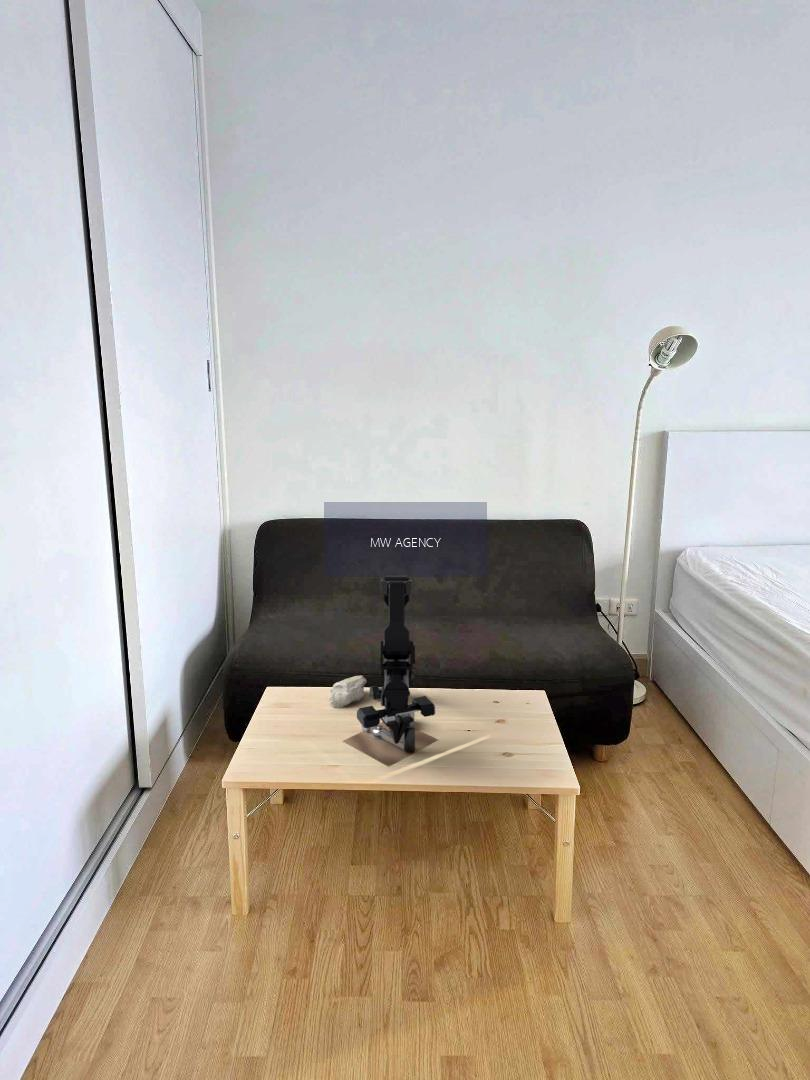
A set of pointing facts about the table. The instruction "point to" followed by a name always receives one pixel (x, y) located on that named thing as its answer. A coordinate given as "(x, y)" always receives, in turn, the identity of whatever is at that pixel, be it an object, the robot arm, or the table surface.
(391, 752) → the press bench
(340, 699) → the fossil replica
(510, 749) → the table surface
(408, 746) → the lever
